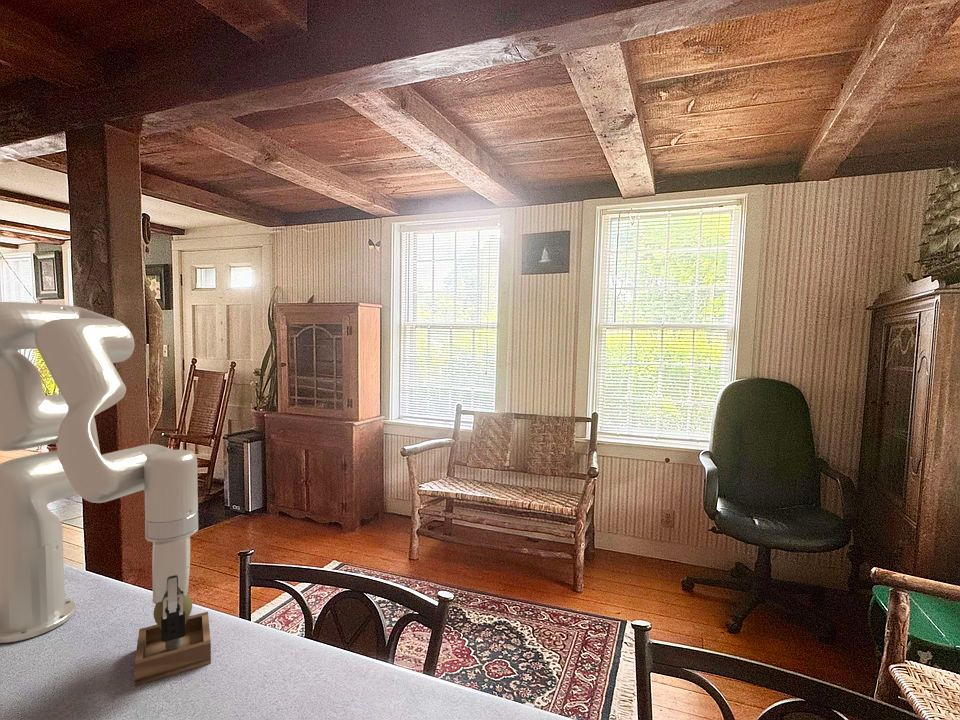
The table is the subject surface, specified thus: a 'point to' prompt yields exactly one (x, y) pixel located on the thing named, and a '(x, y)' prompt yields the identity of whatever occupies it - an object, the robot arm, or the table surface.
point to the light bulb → (159, 613)
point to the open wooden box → (162, 662)
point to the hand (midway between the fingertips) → (174, 622)
